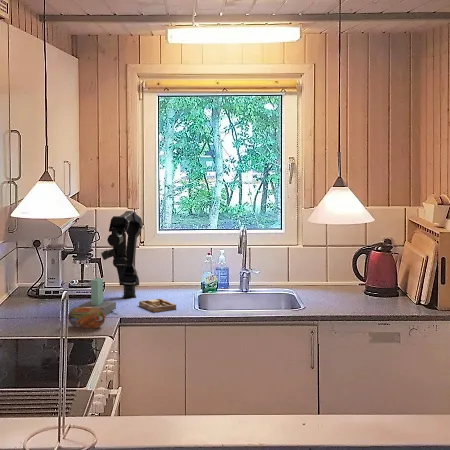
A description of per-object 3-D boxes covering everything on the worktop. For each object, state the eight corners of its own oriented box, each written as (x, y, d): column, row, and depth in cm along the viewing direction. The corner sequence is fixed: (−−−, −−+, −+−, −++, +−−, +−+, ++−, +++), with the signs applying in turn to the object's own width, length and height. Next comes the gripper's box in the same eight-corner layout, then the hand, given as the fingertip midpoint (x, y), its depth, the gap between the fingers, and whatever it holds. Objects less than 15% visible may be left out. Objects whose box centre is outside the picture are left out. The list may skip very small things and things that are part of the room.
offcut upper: (147, 303, 333) (147, 300, 333) (155, 302, 335) (155, 299, 335) (152, 304, 330) (152, 302, 330) (160, 303, 332) (160, 300, 332)
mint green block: (96, 302, 326) (96, 278, 324) (103, 303, 325) (102, 278, 323) (91, 304, 321) (90, 280, 320) (98, 305, 320) (97, 280, 319)
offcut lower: (148, 305, 333) (147, 303, 333) (155, 304, 335) (155, 302, 335) (152, 307, 330) (151, 304, 330) (159, 306, 332) (159, 303, 332)
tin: (68, 327, 299) (68, 307, 298) (71, 325, 302) (70, 305, 301) (103, 329, 296) (103, 308, 295) (106, 327, 299) (106, 306, 298)
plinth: (91, 308, 331) (91, 300, 330) (115, 310, 327) (115, 302, 327) (78, 314, 319) (78, 305, 319) (103, 317, 316) (103, 307, 315)
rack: (139, 307, 333) (139, 301, 333) (160, 305, 339) (160, 298, 339) (154, 314, 321) (154, 307, 320) (176, 311, 327) (176, 304, 326)
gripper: (102, 241, 344) (103, 273, 346) (101, 246, 326) (101, 281, 328) (126, 240, 346) (127, 273, 347) (126, 246, 327) (127, 280, 329)
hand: (120, 277), depth 338 cm, fingers open, 9 cm apart
